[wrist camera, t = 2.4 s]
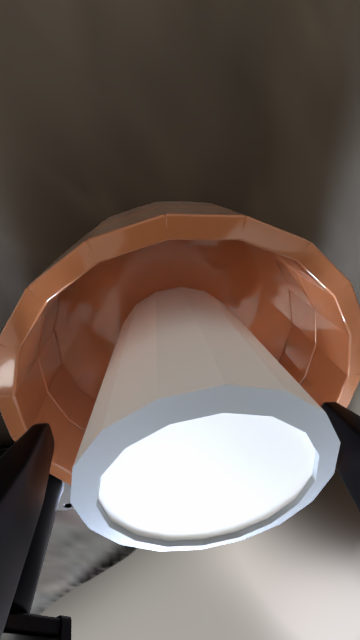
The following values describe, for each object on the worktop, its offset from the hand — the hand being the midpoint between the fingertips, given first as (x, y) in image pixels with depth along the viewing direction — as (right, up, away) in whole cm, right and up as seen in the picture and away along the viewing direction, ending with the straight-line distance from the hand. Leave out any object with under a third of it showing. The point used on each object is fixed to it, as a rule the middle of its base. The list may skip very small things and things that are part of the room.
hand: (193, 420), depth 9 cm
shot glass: (-1, +2, +4) cm, 5 cm away
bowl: (-1, +2, +4) cm, 5 cm away
